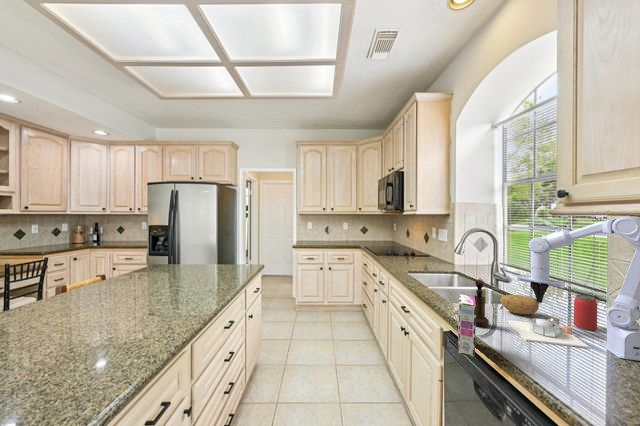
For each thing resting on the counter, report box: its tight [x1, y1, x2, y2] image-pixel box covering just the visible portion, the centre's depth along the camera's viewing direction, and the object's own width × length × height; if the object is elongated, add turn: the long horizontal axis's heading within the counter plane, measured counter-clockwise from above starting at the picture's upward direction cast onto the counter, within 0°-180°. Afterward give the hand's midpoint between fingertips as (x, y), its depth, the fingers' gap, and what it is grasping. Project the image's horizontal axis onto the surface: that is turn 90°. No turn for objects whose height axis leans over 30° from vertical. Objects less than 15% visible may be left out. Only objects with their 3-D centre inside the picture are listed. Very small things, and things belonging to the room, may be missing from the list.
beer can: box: [573, 294, 598, 332], centre depth 107 cm, size 7×7×12 cm
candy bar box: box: [457, 293, 477, 358], centre depth 91 cm, size 11×5×16 cm, turn 152°
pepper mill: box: [474, 279, 490, 328], centre depth 109 cm, size 7×6×18 cm
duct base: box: [507, 318, 590, 349], centre depth 101 cm, size 17×18×5 cm
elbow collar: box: [528, 317, 561, 337], centre depth 102 cm, size 13×8×3 cm, turn 117°
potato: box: [499, 294, 540, 316], centre depth 121 cm, size 10×14×8 cm
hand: (539, 302), depth 107 cm, fingers closed
